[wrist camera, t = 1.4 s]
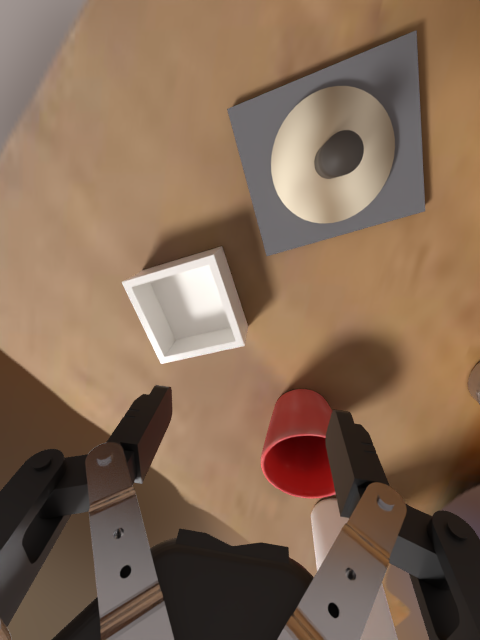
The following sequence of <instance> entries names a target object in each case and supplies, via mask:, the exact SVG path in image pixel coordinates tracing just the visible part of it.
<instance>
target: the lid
mask: <svg viewBox="0 0 480 640" xmlns="http://www.w3.org/2000/svg"><path fill="white" fill-rule="evenodd" d="M394 152H395V137H394V131H393V127H392V123H391V120H390V118H389V116H388V114H387V112H386V110H385V109H384V107H383V106H382V105H381V104H380V102H379V101H378V100H377V99H376V98H374V97H373V96H372V95H371V94H369V93H367V92H365V91H363V90H361V89H358V88H355V87H350V86H334V87H328V88H325V89H322V90H319V91H317V92H315V93H313V94H311V95H309V96H308V97H306V98H305V99H303V100H302V101H301V102H300V103H299V104H298V105H296V106H295V107H294V109H293V110H292V111H291V112H290V113H289V114H288V116H287V117H286V119H285V120H284V122H283V123H282V125H281V127H280V129H279V131H278V133H277V136H276V138H275V142H274V145H273V150H272V156H271V173H272V179H273V183H274V186H275V189H276V192H277V194H278V196H279V198H280V199H281V201H282V202H283V204H284V205H285V206H286V207H287V208H288V209H289V210H290V211H291V212H292V213H294V214H295V215H297V216H298V217H300V218H302V219H304V220H307V221H310V222H314V223H334V222H339V221H342V220H345V219H348V218H350V217H352V216H354V215H356V214H357V213H359V212H360V211H362V210H363V209H364V208H365V207H366V206H368V205H369V204H370V203H371V202H372V201H373V200H374V199H375V197H376V196H377V195H378V193H379V192H380V191H381V189H382V187H383V186H384V184H385V182H386V180H387V178H388V176H389V173H390V170H391V167H392V164H393V159H394Z"/></svg>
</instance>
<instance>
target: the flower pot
mask: <svg viewBox="0 0 480 640" xmlns="http://www.w3.org/2000/svg"><path fill="white" fill-rule="evenodd" d="M331 414H332V410H331V408H330V406H329V405H328V403H327V401H326V400H325V399H324V398H323V397H322V396H321V395H320V394H318V393H317V392H314V391H312V390H308V389H295V390H292V391H289V392H286V393H285V394H283V395H282V396H281V397H280V398H279V399H278V400H277V402H276V404H275V407H274V411H273V414H272V417H271V421H270V424H269V428H268V432H267V436H266V439H265V443H264V447H263V451H262V456H261V468H262V471H263V473H264V475H265V477H266V478H267V480H268V481H269V482H270V483H271V484H272V485H273V486H275V487H276V488H278V489H279V490H281V491H283V492H285V493H287V494H290V495H293V496H296V497H301V498H323V497H328V496H331V495H334V494H336V493H335V488H334V483H333V478H332V474H331V469H330V464H329V459H328V454H327V449H326V442H325V439H326V432H327V428H328V424H329V421H330V417H331Z"/></svg>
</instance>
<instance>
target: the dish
mask: <svg viewBox="0 0 480 640" xmlns="http://www.w3.org/2000/svg"><path fill="white" fill-rule="evenodd" d="M122 284H123V286H124V288H125V290H126V292H127V294H128V296H129V298H130V300H131V302H132V305H133V307H134V309H135V311H136V313H137V315H138V317H139V319H140V321H141V323H142V325H143V327H144V329H145V331H146V334H147V336H148V338H149V340H150V342H151V344H152V346H153V348H154V350H155V352H156V354H157V356H158V358H159V360H160V362H161V364H163V363H167V362H172V361H176V360H181V359H186V358H190V357H195V356H200V355H204V354H209V353H213V352H218V351H223V350H227V349H232V348H237V347H241V346H245V341H246V336H247V330H248V324H247V321H246V318H245V315H244V312H243V309H242V306H241V303H240V300H239V297H238V293H237V290H236V287H235V284H234V281H233V278H232V275H231V272H230V269H229V266H228V263H227V260H226V256H225V253H224V250H223V247H222V246H221V247H217V248H214V249H211V250H207V251H204V252H201V253H198V254H194V255H191V256H188V257H184V258H181V259H178V260H175V261H171V262H168V263H165V264H161V265H158V266H155V267H152V268H148V269H145V270H142V271H140V272H138V273H137V274H135V275H133V276H131V277H130V278H128V279H126V280H125V281H123V282H122Z"/></svg>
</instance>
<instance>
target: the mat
mask: <svg viewBox="0 0 480 640" xmlns="http://www.w3.org/2000/svg"><path fill="white" fill-rule="evenodd" d="M334 86H350V87H355V88H358V89H361V90H363V91H365V92H367V93H369V94H371V95H372V96H373V97H374V98H376V99H377V100H378V101H379V102H380V104H381V105H382V106H383V107H384V109H385V110H386V112H387V114H388V116H389V118H390V120H391V123H392V127H393V131H394V137H395V152H394V159H393V164H392V167H391V170H390V173H389V176H388V178H387V180H386V182H385V184H384V186H383V187H382V189H381V191H380V192H379V193H378V195H377V196H376V197H375V199H374V200H373V201H372V202H371V203H370V204H369V205H368V206H366V207H365V208H364V209H363V210H362V211H360V212H359V213H357V214H356V215H354V216H352V217H350V218H348V219H345V220H342V221H339V222H334V223H314V222H310V221H307V220H304V219H302V218H300V217H298V216H297V215H295V214H294V213H292V212H291V211H290V210H289V209H288V208H287V207H286V206H285V205H284V204H283V202H282V201H281V199H280V198H279V196H278V194H277V192H276V189H275V186H274V183H273V179H272V173H271V156H272V150H273V145H274V142H275V138H276V136H277V133H278V131H279V129H280V127H281V125H282V123H283V122H284V120H285V119H286V117H287V116H288V114H289V113H290V112H291V111H292V110H293V109H294V107H295V106H296V105H298V104H299V103H300V102H301V101H302V100H303V99H305V98H306V97H308V96H309V95H311V94H313V93H315V92H317V91H319V90H322V89H325V88H328V87H334ZM227 110H228V114H229V117H230V121H231V125H232V129H233V132H234V136H235V140H236V143H237V147H238V151H239V155H240V158H241V162H242V166H243V170H244V173H245V177H246V181H247V185H248V188H249V192H250V196H251V199H252V203H253V207H254V211H255V214H256V218H257V222H258V226H259V229H260V233H261V237H262V241H263V244H264V248H265V252H266V255H267V256H269V255H273V254H276V253H280V252H283V251H287V250H290V249H294V248H297V247H301V246H304V245H308V244H311V243H315V242H318V241H322V240H325V239H329V238H332V237H336V236H339V235H343V234H346V233H350V232H353V231H357V230H361V229H364V228H368V227H371V226H375V225H378V224H382V223H385V222H389V221H392V220H396V219H399V218H403V217H406V216H410V215H413V214H417V213H420V212H424V211H425V197H424V176H423V155H422V134H421V114H420V93H419V72H418V51H417V30H416V31H413V32H411V33H409V34H406V35H404V36H401V37H399V38H397V39H394V40H392V41H389V42H387V43H385V44H382V45H380V46H377V47H375V48H373V49H370V50H368V51H365V52H363V53H361V54H358V55H356V56H353V57H351V58H349V59H346V60H344V61H341V62H339V63H337V64H334V65H332V66H329V67H327V68H325V69H322V70H320V71H317V72H315V73H313V74H310V75H308V76H305V77H303V78H301V79H298V80H296V81H293V82H291V83H289V84H286V85H284V86H281V87H279V88H277V89H274V90H272V91H269V92H267V93H265V94H262V95H260V96H257V97H255V98H253V99H250V100H248V101H245V102H243V103H241V104H238V105H236V106H233V107H231V108H229V109H227Z"/></svg>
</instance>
